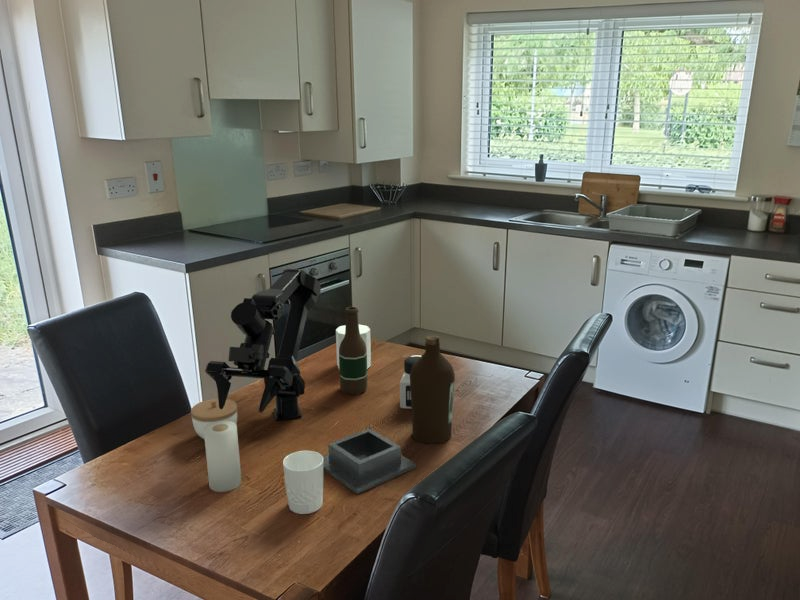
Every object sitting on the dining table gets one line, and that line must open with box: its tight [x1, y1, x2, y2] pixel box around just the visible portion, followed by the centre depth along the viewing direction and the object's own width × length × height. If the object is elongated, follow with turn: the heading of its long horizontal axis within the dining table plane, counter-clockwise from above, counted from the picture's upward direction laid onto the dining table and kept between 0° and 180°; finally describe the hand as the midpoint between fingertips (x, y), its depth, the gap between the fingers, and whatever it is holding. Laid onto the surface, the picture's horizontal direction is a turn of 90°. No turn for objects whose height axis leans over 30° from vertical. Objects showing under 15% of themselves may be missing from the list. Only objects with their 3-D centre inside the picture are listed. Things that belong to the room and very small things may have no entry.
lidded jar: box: [190, 398, 238, 441], centre depth 159 cm, size 11×11×9 cm
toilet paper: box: [335, 323, 372, 370], centre depth 202 cm, size 10×10×12 cm
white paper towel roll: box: [204, 421, 242, 493], centre depth 139 cm, size 7×7×13 cm
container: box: [399, 354, 422, 410], centre depth 176 cm, size 8×8×13 cm
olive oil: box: [410, 335, 456, 445], centre depth 157 cm, size 11×11×25 cm
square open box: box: [322, 427, 417, 495], centre depth 146 cm, size 16×16×5 cm
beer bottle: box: [338, 306, 368, 396], centre depth 183 cm, size 8×8×24 cm
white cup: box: [282, 450, 324, 515], centre depth 131 cm, size 8×8×10 cm
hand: (240, 410), depth 144 cm, fingers open, 9 cm apart
